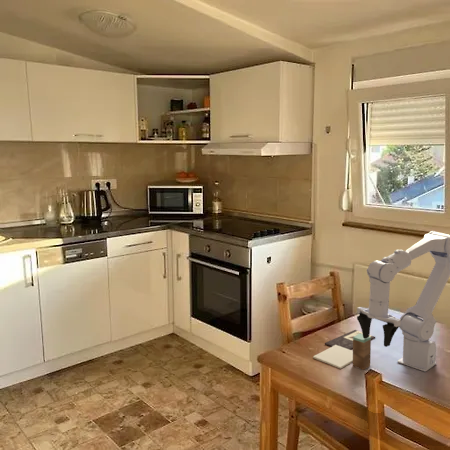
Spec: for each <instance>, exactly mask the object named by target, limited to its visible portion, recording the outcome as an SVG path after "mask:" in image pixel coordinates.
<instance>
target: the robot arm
mask: <svg viewBox="0 0 450 450" xmlns="http://www.w3.org/2000/svg"><path fill="white" fill-rule="evenodd" d="M427 253H429V254H430V255H431V257H432V258H434V262H435V263H434V266H433V268H432V270H431V272H430V274H429V276H428V278H427V280H426V283H425V284H424V287H423V289H422V290H421V292H420V295H419V296H418V299H417V301H416V304H415V305H413V306H409V307H408V308H406V310H405V312H404V313H403V314H402V315H401V316H400V318H398V317H396V316H394V315H391V313H389V303H390V290H391V282H392V281H393V280H394V279H395V276H396V275H397V274H398V273H400V272H401V271H403V270H405V269H406V268H408V267H410V266H411V264H412V261H413V260H415V259H417V258H419V257H421V256H423V255H425V254H427ZM366 274H367V276H368V279H369V281H368V282H369V300H368V307H364V306H358V307H356V314H358V315H357V316H356V319H357V321H358V323H359V325H360V328H361V332H362V333H363V338H368V337H369V335H371V334H370V333H371V324H372V321H373V319H375V320H377V321H381V322H383V323H385V324H383V325H382V329H383V346H384V347H385V348H386V347H389V346H390V345H391V343H392V340H393V337H394V336H395V333H396V332H397V330H398V329H400V330H401V331H402V333H401V334H402V335H403V343H402V344H403V346H402V357H401V358H399V359H398V360H397V363H399V364H402V365H404V366H406V367H410V368H413V369H415V370H416V369H417V370H420V371H422V372H427V371H429V370H430V369H432V368H433V367H434V366H435V365H437V362H436V359H437V358H436V356H437V352H436V351H437V344H436V343H435V342H434V341H433V340H430V339H431V337H433V334H434V331H435V325H436V323H437V320H436V318H435V317H434V315H433V312H434V310H435V308H436V306H437V303H439V300H440V297H441V296H442V293H443V291H444V289H445V287H446V285H447V283H448V281H449V278H450V234H448V233H444V232H439V231H436V230H431V231H429V232H428V233H425V234H424V236H423V238H422V239H420V240H419V241H418V242H415V243H414V244H413V245H411V246H410V247H409V248H407V249H406V250H403V249H395V250H394V251H393V253H391V254H389V255H388V256H384V257H382V258H381V260H373V261H372V262H371V263H370V264H369V265H368V268H367V269H366Z"/></svg>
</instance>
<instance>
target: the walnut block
mask: <svg viewBox="0 0 450 450" xmlns="http://www.w3.org/2000/svg"><path fill="white" fill-rule="evenodd" d="M371 341H372V340H371V337H370V336H369V337H368V338H363V334H358V335H356V336H354V337H353V349H352V351H353V362H352V367H355V368H357V369H360V370H362V371H364V370H366V369H368V368H369V367H371V352H372V351H371V350H372V349H371V348H372V347H371V346H372V342H371Z"/></svg>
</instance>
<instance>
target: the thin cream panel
mask: <svg viewBox="0 0 450 450" xmlns="http://www.w3.org/2000/svg"><path fill="white" fill-rule="evenodd" d="M312 358H313V359H314V360H317V361H319V362H322V363H325V364H328V365H329V366H333V367H335V368H336V369H337V368H338V369H340V370H341V369H343V368H344V367H345V368H346V366H348V365H350V364H351V363H352V364H353V349H352V350H349V349H346V348H343V347H341V346H338V345H334V346H332V347H330V346H329V348H327V349H325V350H323V351H321V352H319V353H317V354H314V355H313V357H312Z"/></svg>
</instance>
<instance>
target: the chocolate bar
mask: <svg viewBox="0 0 450 450" xmlns="http://www.w3.org/2000/svg"><path fill="white" fill-rule="evenodd" d="M358 334H363V333H362V331H360V330H357V329H354V330H352V331H349V332H347V333H344V334H342V335H340V336H337V337H336V338H333V339H330V340H329V341H327V342H324V345H325V346H328V347H329V348H330V347H332V346H334V345H338V346H341V347H343V348H346V349H349V350H352V351H353V337H354V336H356V335H358ZM369 336H370V337H371V341H372V340H374V339H376V336H375V335H374V336H373V335H371V334H369Z"/></svg>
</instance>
